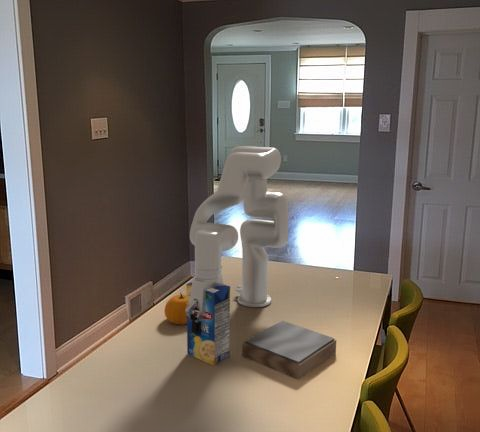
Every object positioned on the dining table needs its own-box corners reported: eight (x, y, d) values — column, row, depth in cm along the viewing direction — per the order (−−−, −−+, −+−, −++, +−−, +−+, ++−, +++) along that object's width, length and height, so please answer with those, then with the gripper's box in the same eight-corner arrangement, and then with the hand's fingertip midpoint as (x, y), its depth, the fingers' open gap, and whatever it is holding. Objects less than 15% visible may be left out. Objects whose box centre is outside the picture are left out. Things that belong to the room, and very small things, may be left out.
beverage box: (214, 365, 147) (214, 293, 142) (187, 353, 153) (186, 283, 149) (230, 356, 152) (230, 286, 147) (202, 345, 159) (202, 277, 154)
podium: (242, 356, 152) (242, 340, 151) (281, 334, 167) (281, 319, 166) (298, 379, 140) (299, 363, 138) (335, 353, 155) (336, 338, 153)
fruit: (165, 329, 170) (165, 300, 168) (163, 314, 181) (163, 288, 179) (201, 326, 172) (200, 298, 170) (196, 312, 183) (196, 286, 181)
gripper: (218, 263, 156) (218, 315, 159) (176, 276, 143) (177, 334, 146) (237, 268, 151) (237, 322, 155) (196, 283, 138) (196, 341, 142)
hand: (208, 328), depth 151 cm, fingers open, 9 cm apart
